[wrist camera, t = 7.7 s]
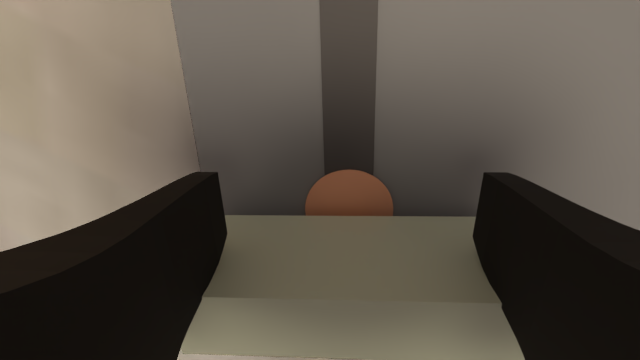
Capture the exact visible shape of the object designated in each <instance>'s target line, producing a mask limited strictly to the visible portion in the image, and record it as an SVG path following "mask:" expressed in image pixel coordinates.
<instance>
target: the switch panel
mask: <svg viewBox="0 0 640 360" xmlns="http://www.w3.org/2000/svg"><path fill="white" fill-rule="evenodd" d="M171 6H172V12H173V18H174V23H175V29H176V35H177V40H178V46H179V52H180V57H181V63H182V69H183V74H184V80H185V86H186V91H187V97H188V103H189V108H190V114H191V120H192V126H193V131H194V137H195V143H196V148H197V154H198V160H199V165H200V171H201V172H218V176H219V183H220V189H221V195H222V202H223V208H224V214H225V215H289V216H452V217H476V213H477V207H478V202H479V196H480V190H481V185H482V179H483V173H484V172H508V173H511V174H514V175H517V176H519V177H522V178H524V179H526V180H528V181H531V182H533V183H535V184H537V185H539V186H541V187H543V188H545V189H547V190H549V191H551V192H553V193H555V194H557V195H559V196H561V197H563V198H566V199H568V200H570V201H572V202H574V203H576V204H578V205H580V206H582V207H585V208H587V209H589V210H591V211H593V212H596V213H598V214H600V215H603V216H605V217H607V218H610V219H612V220H614V221H617V222H619V223H621V224H624V225H627V226H629V227H632V228H634V229H637V230H640V0H171Z"/></svg>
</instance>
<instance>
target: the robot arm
mask: <svg viewBox="0 0 640 360" xmlns="http://www.w3.org/2000/svg"><path fill="white" fill-rule="evenodd" d="M227 234H228V233H227V227H226V220H225V214H224V208H223V202H222V195H221V189H220V183H219V176H218V172H195V173H192V174H189V175H187V176H185V177H182V178H180V179H178V180H176V181H174V182H172V183H170V184H168V185H166V186H164V187H163V188H161V189H159V190H157V191H155V192H153V193H151V194H149V195H147V196H145V197H143V198H141V199H139V200H137V201H135V202H133V203H131V204H129V205H127V206H125V207H123V208H120V209H118V210H116V211H114V212H112V213H110V214H108V215H106V216H103V217H101V218H99V219H96V220H94V221H92V222H89V223H87V224H84V225H82V226H79V227H76V228H74V229H71V230H68V231H66V232H63V233H60V234H57V235H54V236H51V237H48V238H45V239H42V240H38V241H35V242H32V243H29V244H26V245H22V246H19V247H16V248H13V249H10V250H6V251H2V252H0V360H177V357H178V354H179V351H180V348H181V345H182V343H183V341H184V338H185V336H186V333H187V331H188V329H189V326H190V324H191V322H192V320H193V318H194V316H195V314H196V311H197V309H198V307H199V305H200V303H201V301H202V296H203V294H204V292H205V291H206V289H207V287H208V286H209V284H210V282H211V279H212V277H213V275H214V273H215V271H216V268H217V266H218V264H219V261H220V258H221V255H222V252H223V248H224V245H225V241H226V237H227ZM472 237H473V240H474V244H475V247H476V251H477V254H478V257H479V260H480V263H481V266H482V269H483V271H484V273H485V275H486V277H487V279H488V281H489V283H490V285H491V287H492V288H493V290H494V291H495V293H496V295H497V296H498V298H499V299H500V301H501V303H502V306H501V308H502V310H503V312H504V315H505V317H506V319H507V321H508V323H509V325H510V327H511V329H512V331H513V333H514V335H515V337H516V339H517V342H518V344H519V346H520V349H521V351H522V353H523V356H524V358H525V360H640V230H637V229H634V228H632V227H629V226H627V225H624V224H621V223H619V222H617V221H614V220H612V219H610V218H607V217H605V216H603V215H600V214H598V213H596V212H593V211H591V210H589V209H587V208H585V207H582V206H580V205H578V204H576V203H574V202H572V201H570V200H568V199H566V198H563V197H561V196H559V195H557V194H555V193H553V192H551V191H549V190H547V189H545V188H543V187H541V186H539V185H537V184H535V183H533V182H531V181H528V180H526V179H524V178H522V177H519V176H517V175H514V174H511V173H508V172H484V173H483V179H482V185H481V190H480V196H479V202H478V207H477V213H476V219H475V224H474V230H473V236H472Z"/></svg>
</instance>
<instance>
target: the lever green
mask: <svg viewBox="0 0 640 360" xmlns="http://www.w3.org/2000/svg"><path fill="white" fill-rule="evenodd" d="M475 219H476V217H452V216H289V215H225V220H226V227H227V233H228V234H227V237H226V241H225V245H224V248H223V252H222V255H221V258H220V261H219V264H218V266H217V268H216V271H215V273H214V275H213V277H212V279H211V282H210V284H209V286H208V287H207V289H206V291H205V292H204V294H203V296H202V301H201V303H200V305H199V307H198V309H197V311H196V314H195V316H194V318H193V320H192V322H191V324H190V326H189V329H188V331H187V333H186V336H185V338H184V341H183V343H182V345H181V349H182V353H183V354H209V355H239V356H270V357H301V358H331V359H362V360H525V358H524V356H523V353H522V351H521V349H520V346H519V344H518V342H517V339H516V337H515V335H514V333H513V331H512V329H511V327H510V325H509V323H508V321H507V319H506V317H505V315H504V312H503V310H502V308H501V306H502V303H501V301H500V299H499V298H498V296H497V295H496V293H495V291H494V290H493V288H492V287H491V285H490V283H489V281H488V279H487V277H486V275H485V273H484V271H483V269H482V266H481V263H480V260H479V257H478V254H477V251H476V247H475V244H474V240H473V237H472V236H473V230H474V224H475Z"/></svg>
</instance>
